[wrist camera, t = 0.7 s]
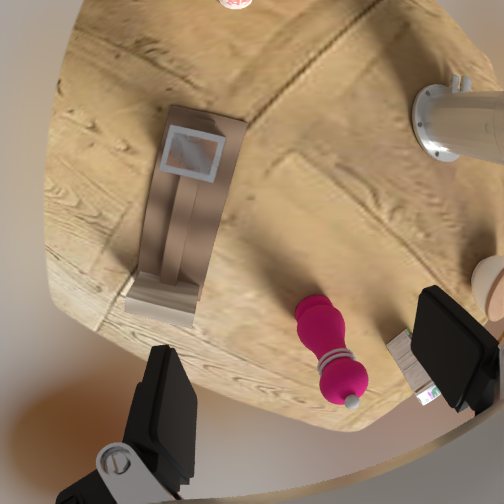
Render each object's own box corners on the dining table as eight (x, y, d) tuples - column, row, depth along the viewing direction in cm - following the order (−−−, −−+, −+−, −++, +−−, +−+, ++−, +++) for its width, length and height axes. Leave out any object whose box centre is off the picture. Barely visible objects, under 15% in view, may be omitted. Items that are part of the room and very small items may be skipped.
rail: (172, 105, 32) (157, 98, 25) (247, 123, 34) (252, 119, 27) (137, 282, 41) (120, 311, 34) (200, 298, 43) (194, 330, 36)
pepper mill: (284, 322, 46) (311, 423, 27) (305, 285, 44) (348, 382, 25) (321, 332, 47) (358, 426, 29) (342, 299, 45) (395, 389, 27)
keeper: (180, 126, 33) (170, 124, 27) (227, 137, 34) (226, 137, 28) (170, 164, 34) (159, 170, 29) (216, 175, 35) (213, 183, 30)
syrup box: (415, 340, 51) (449, 386, 38) (393, 357, 52) (423, 407, 39) (407, 326, 49) (444, 375, 36) (383, 345, 50) (415, 397, 37)
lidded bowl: (481, 237, 43) (519, 259, 33) (504, 256, 45) (536, 278, 35) (453, 292, 47) (485, 321, 37) (479, 304, 50) (507, 330, 39)
